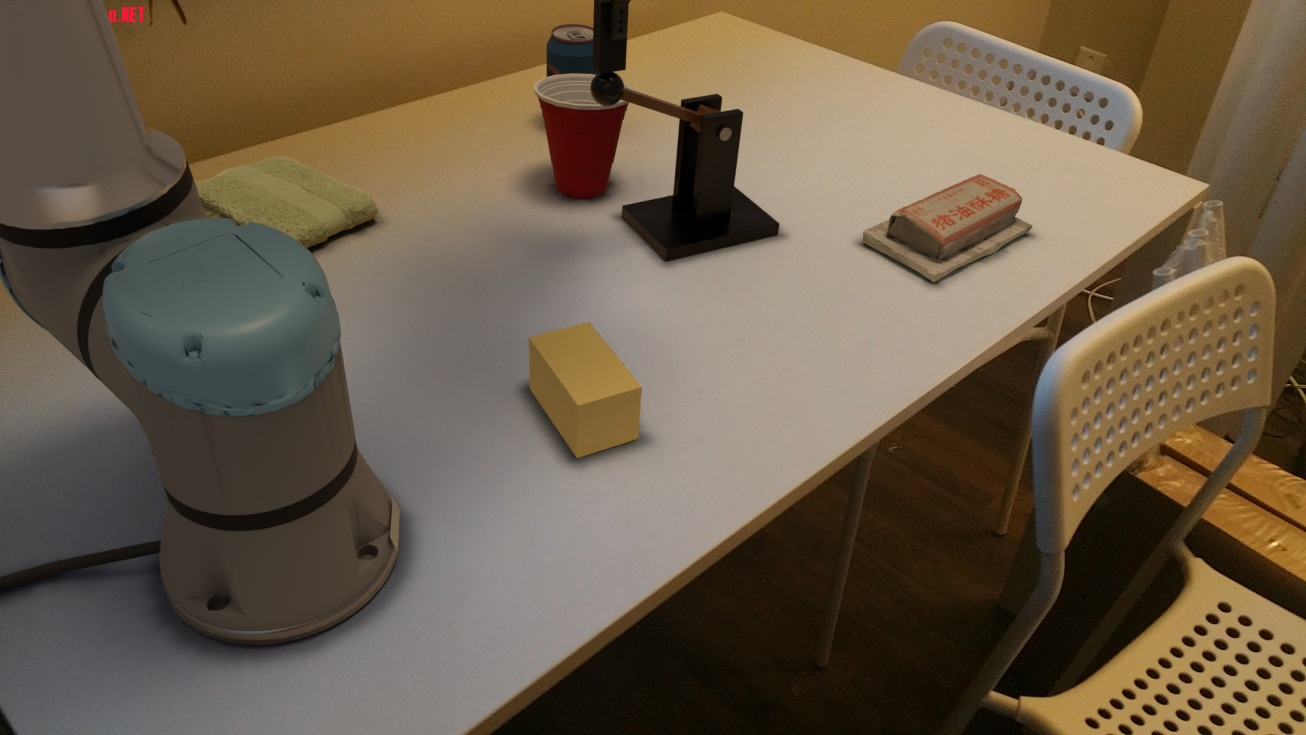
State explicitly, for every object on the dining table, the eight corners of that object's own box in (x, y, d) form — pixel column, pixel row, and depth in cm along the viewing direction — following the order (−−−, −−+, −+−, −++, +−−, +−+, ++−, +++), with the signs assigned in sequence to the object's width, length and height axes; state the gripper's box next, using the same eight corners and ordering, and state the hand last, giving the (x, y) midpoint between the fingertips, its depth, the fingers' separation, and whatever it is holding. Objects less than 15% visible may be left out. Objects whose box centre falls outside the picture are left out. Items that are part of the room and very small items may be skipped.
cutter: (665, 261, 101) (676, 136, 93) (621, 216, 108) (627, 96, 99) (778, 234, 107) (797, 115, 98) (729, 193, 114) (743, 78, 105)
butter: (576, 458, 77) (577, 405, 74) (529, 388, 84) (528, 336, 80) (638, 439, 80) (642, 386, 76) (587, 372, 86) (589, 321, 83)
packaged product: (967, 161, 113) (1043, 196, 108) (957, 198, 116) (1030, 234, 111) (867, 204, 103) (945, 245, 98) (858, 243, 106) (933, 285, 101)
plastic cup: (634, 169, 117) (639, 71, 110) (623, 213, 108) (628, 110, 101) (543, 160, 117) (543, 61, 110) (525, 203, 109) (523, 100, 101)
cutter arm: (594, 106, 90) (608, 73, 89) (579, 93, 93) (592, 61, 91) (721, 146, 100) (735, 117, 99) (705, 133, 103) (719, 105, 101)
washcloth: (280, 166, 112) (275, 140, 110) (387, 219, 104) (384, 192, 102) (176, 208, 103) (168, 181, 101) (284, 269, 96) (279, 240, 94)
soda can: (538, 118, 126) (537, 25, 119) (587, 111, 129) (589, 19, 122) (560, 141, 122) (560, 45, 114) (610, 132, 124) (614, 38, 117)
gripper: (703, -214, 73) (679, 90, 88) (624, -240, 82) (613, 40, 97) (614, -212, 70) (603, 102, 85) (541, -240, 79) (543, 49, 94)
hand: (609, 68), depth 91 cm, fingers closed
